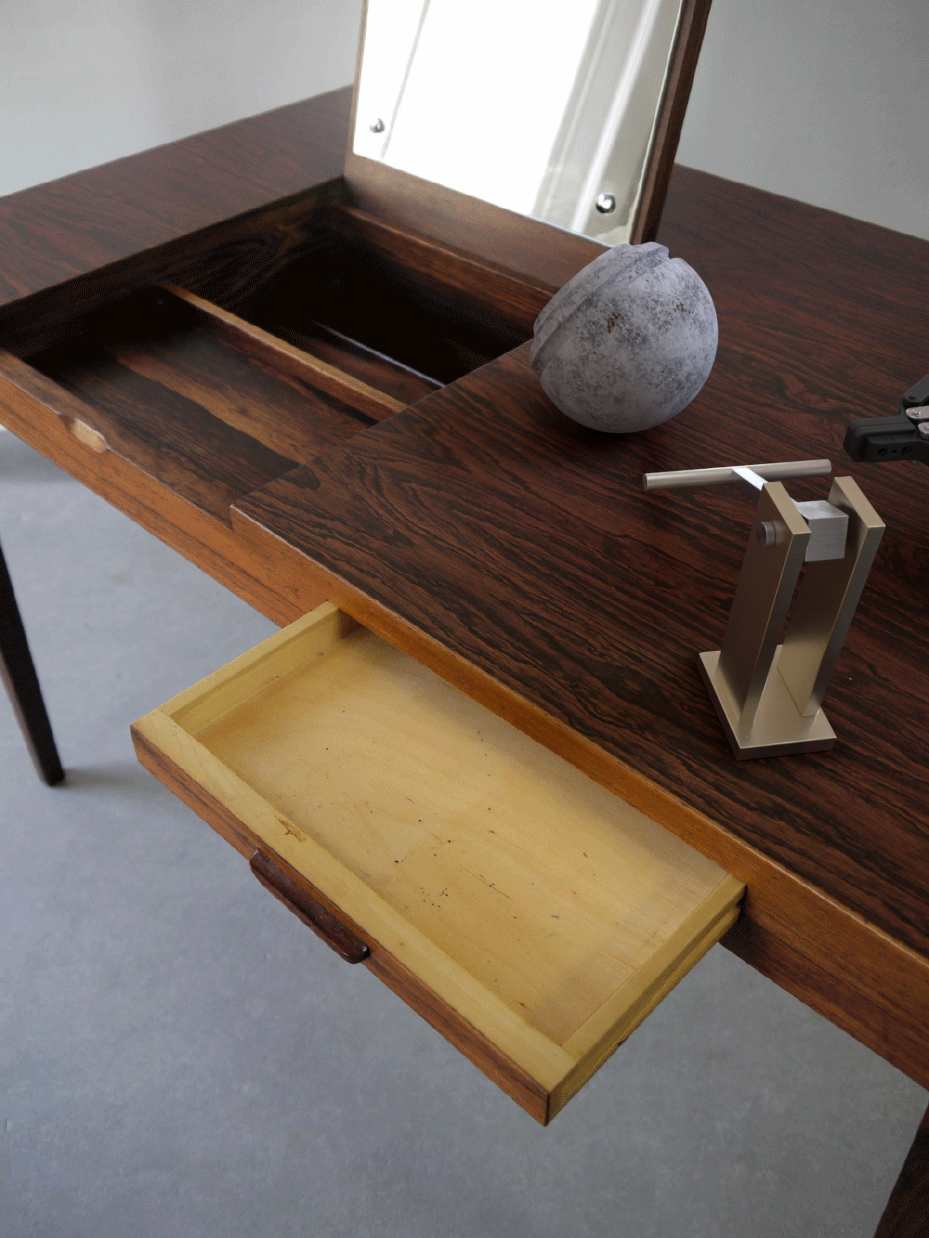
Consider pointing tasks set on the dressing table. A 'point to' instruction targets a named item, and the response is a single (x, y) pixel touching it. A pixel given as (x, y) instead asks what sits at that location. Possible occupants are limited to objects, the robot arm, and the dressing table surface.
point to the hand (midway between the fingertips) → (850, 442)
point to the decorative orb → (626, 340)
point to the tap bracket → (802, 666)
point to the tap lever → (749, 479)
